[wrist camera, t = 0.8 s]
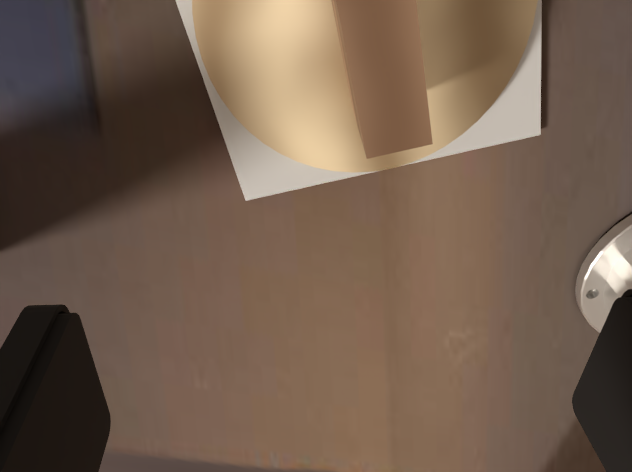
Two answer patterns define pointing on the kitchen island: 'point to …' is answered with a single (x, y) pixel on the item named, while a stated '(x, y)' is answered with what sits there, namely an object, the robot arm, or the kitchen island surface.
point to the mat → (286, 174)
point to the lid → (360, 72)
